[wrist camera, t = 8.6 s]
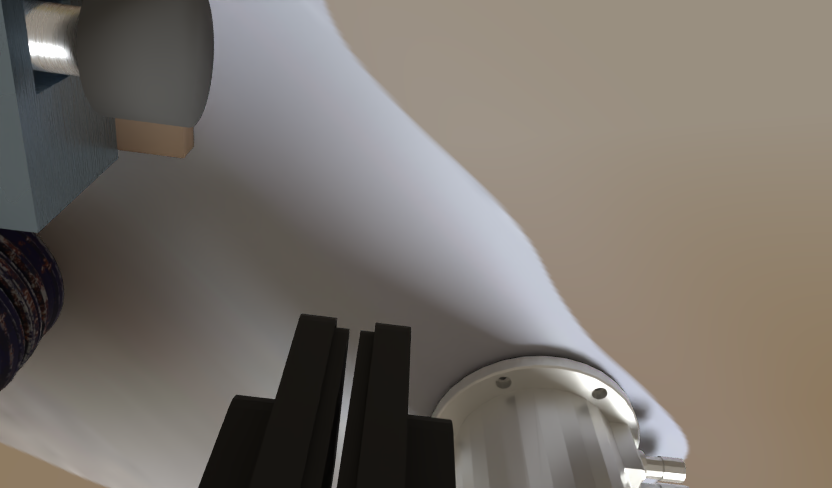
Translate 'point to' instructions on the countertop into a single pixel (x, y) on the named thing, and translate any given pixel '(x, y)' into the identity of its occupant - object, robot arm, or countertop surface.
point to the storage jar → (25, 298)
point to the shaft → (129, 54)
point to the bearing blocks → (44, 132)
